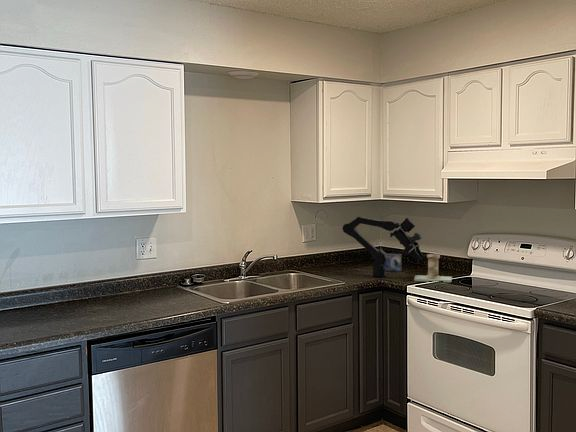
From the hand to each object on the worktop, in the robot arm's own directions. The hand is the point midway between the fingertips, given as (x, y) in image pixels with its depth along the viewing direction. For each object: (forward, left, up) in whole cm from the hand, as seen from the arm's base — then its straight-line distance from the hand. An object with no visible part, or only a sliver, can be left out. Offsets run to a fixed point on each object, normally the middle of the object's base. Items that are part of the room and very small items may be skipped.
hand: (421, 258), depth 339 cm
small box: (-19, +24, -12) cm, 33 cm away
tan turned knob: (+6, -1, -11) cm, 12 cm away
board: (+6, -1, -12) cm, 13 cm away
